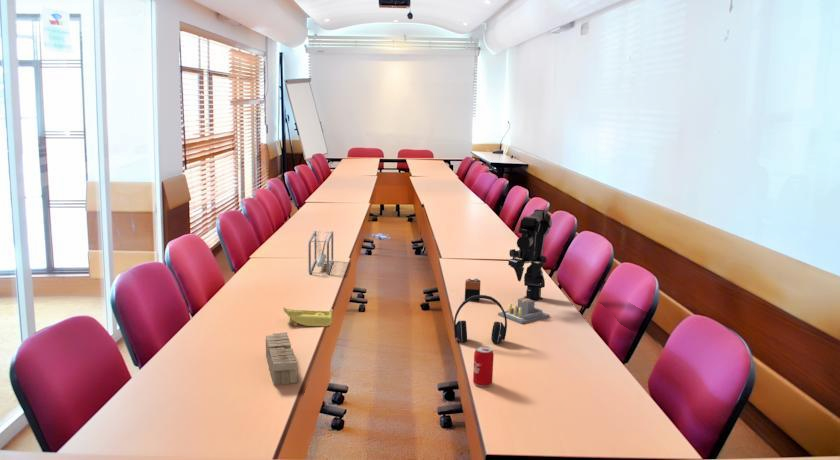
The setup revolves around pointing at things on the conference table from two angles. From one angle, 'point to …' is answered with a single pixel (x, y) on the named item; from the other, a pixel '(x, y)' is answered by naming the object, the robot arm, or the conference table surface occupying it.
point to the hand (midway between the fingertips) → (526, 279)
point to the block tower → (281, 359)
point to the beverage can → (483, 366)
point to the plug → (526, 306)
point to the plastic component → (310, 317)
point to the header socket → (521, 318)
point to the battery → (472, 288)
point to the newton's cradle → (322, 256)
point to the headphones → (498, 327)
